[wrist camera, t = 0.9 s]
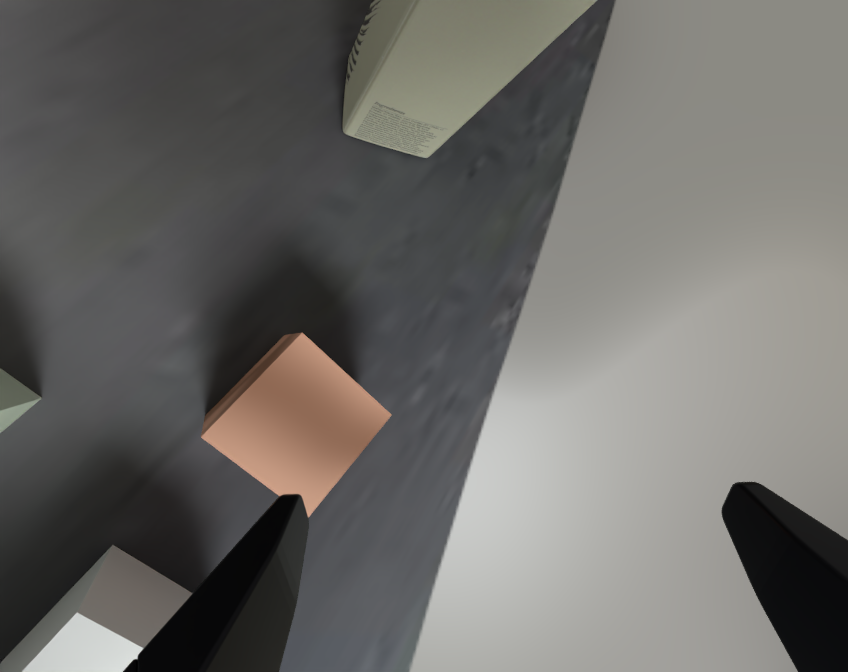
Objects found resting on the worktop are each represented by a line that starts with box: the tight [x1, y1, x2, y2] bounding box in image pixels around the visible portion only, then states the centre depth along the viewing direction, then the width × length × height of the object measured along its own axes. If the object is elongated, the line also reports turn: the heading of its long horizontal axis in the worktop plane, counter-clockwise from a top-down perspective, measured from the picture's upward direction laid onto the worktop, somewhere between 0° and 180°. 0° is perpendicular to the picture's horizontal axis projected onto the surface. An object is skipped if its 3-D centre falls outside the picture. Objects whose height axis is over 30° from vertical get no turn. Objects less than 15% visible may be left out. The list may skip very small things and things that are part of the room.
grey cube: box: [0, 545, 193, 672], centre depth 15 cm, size 5×5×5 cm
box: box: [343, 0, 597, 158], centre depth 17 cm, size 5×4×13 cm
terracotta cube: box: [201, 333, 391, 517], centre depth 19 cm, size 5×5×5 cm
